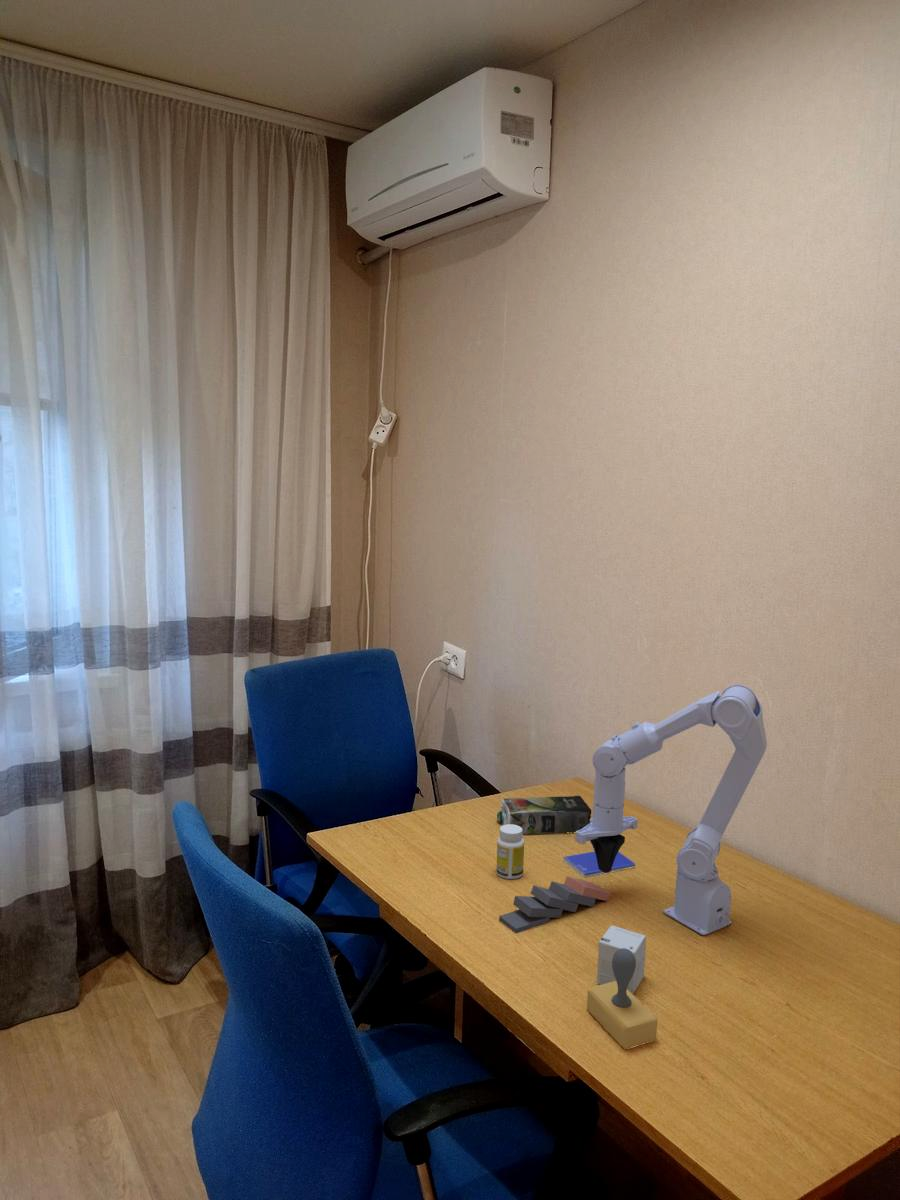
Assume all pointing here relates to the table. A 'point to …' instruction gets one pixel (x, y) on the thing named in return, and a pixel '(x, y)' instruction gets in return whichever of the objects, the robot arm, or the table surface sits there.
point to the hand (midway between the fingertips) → (604, 870)
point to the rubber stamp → (622, 1005)
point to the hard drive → (595, 863)
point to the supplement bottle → (510, 852)
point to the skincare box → (612, 943)
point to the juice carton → (545, 814)
